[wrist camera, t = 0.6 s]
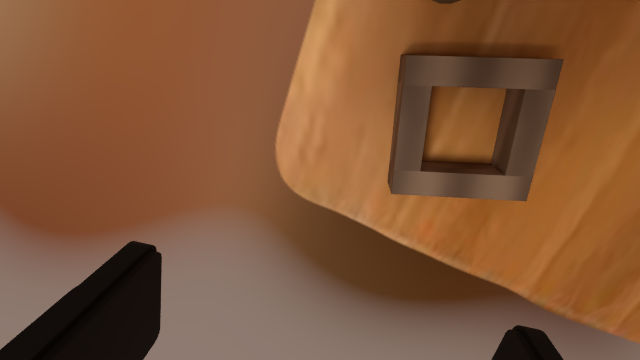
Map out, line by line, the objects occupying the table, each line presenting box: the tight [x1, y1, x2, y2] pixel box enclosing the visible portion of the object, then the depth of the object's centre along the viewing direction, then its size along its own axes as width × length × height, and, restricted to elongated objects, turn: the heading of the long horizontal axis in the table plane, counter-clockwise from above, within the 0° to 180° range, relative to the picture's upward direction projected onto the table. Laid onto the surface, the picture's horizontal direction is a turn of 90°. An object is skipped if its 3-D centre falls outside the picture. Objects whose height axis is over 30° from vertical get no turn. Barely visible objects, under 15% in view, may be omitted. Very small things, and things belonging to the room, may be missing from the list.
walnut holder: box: [388, 55, 564, 201], centre depth 32 cm, size 13×13×4 cm
